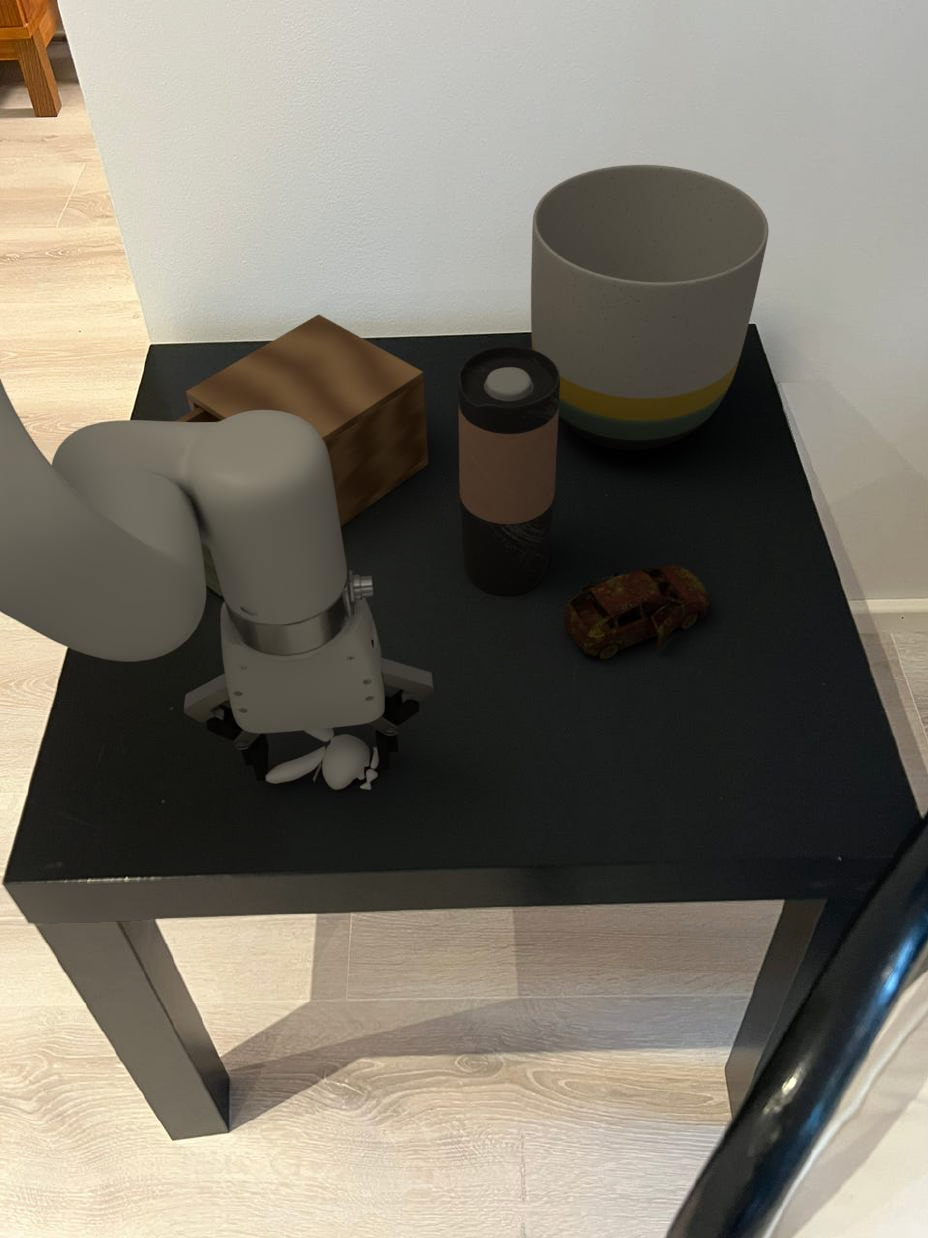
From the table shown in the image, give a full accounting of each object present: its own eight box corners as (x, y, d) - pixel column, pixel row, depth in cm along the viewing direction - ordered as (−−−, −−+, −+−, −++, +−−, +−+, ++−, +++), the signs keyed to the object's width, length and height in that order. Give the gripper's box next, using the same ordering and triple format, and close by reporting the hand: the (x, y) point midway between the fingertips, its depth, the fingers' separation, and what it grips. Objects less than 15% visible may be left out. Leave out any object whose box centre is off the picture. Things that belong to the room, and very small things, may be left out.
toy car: (594, 681, 86) (599, 641, 82) (553, 620, 90) (556, 580, 86) (723, 631, 89) (733, 590, 85) (678, 575, 93) (685, 534, 89)
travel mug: (552, 537, 96) (563, 346, 81) (547, 601, 91) (559, 410, 76) (466, 532, 97) (462, 342, 82) (457, 595, 92) (451, 405, 77)
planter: (509, 374, 112) (512, 174, 96) (692, 354, 114) (725, 154, 98) (548, 501, 99) (560, 295, 83) (754, 476, 101) (804, 270, 85)
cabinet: (306, 551, 96) (289, 459, 88) (209, 483, 102) (185, 391, 94) (428, 464, 103) (423, 371, 95) (331, 405, 109) (318, 313, 101)
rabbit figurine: (366, 818, 78) (261, 782, 76) (356, 809, 82) (256, 774, 80) (395, 739, 79) (292, 701, 77) (384, 734, 82) (285, 698, 80)
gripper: (426, 543, 69) (438, 706, 82) (151, 567, 68) (207, 728, 81) (436, 633, 64) (447, 791, 77) (139, 659, 63) (201, 815, 77)
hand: (324, 758), depth 79 cm, fingers closed on rabbit figurine, 8 cm apart
